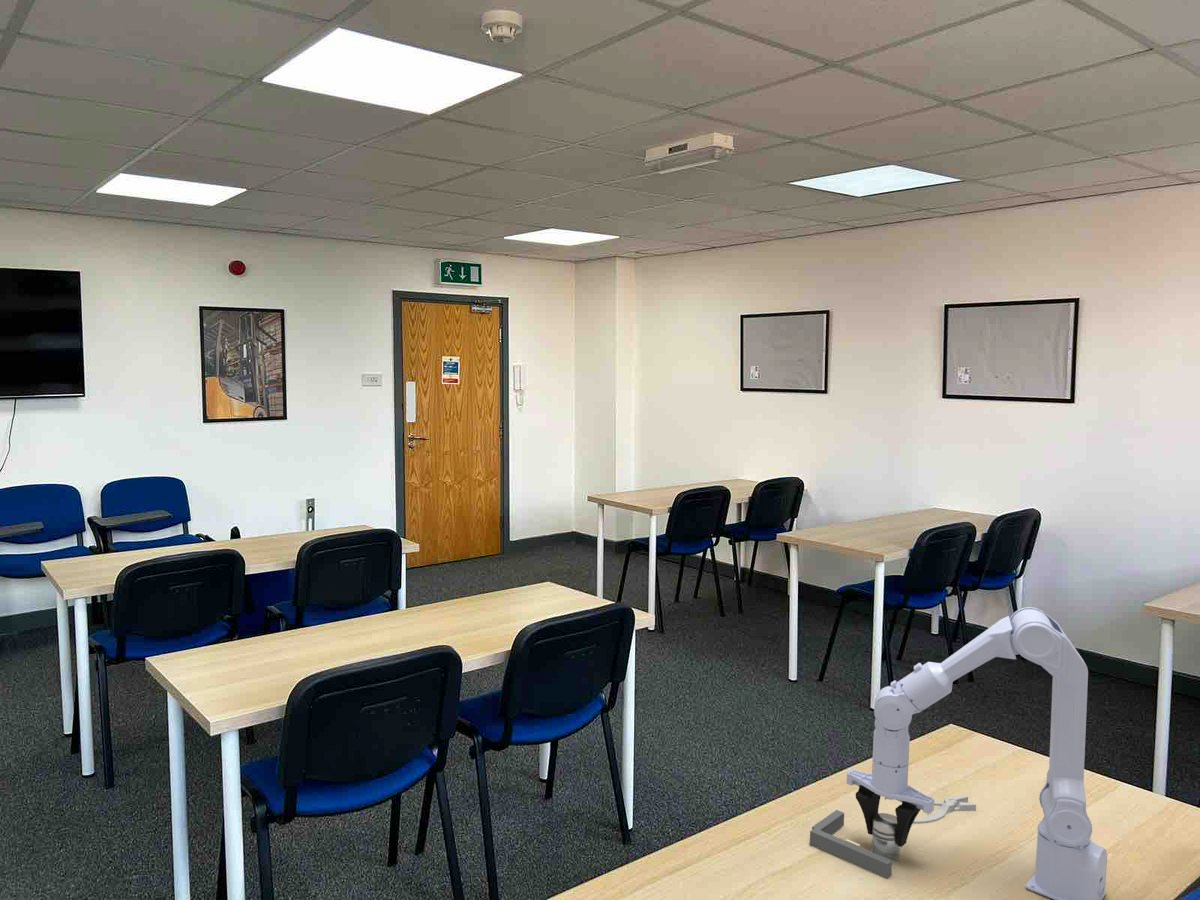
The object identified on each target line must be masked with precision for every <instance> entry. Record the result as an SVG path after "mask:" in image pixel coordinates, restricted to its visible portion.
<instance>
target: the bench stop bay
mask: <svg viewBox="0 0 1200 900" xmlns="http://www.w3.org/2000/svg"><path fill="white" fill-rule="evenodd" d="M844 825H845V812H843V811H841V810H838V809H836V810H834V811H833V812H832V813H830V814H829V815H827V816H825V817H824V818H823V819H821V820H819V822H817V823H816V824H814V825H813V826H812V827H811V830H810V831H809V845H810V846H812V847H814V848H816V849H819V850H821V851H824V852H826V853H828V854H830V855H833V856H834V857H837V858H839V859H842V860H844V861H846V862H849V863H850V864H853V865H856V866H858V867H860V868H862V869H864V870H867V871H869V872H871V873H873V874H876V875H879V876H880V877H883V878H885V879H889V878H890V877H891V876H892V872H893V871H892V869H893V861H892V860H889V859H887V858H885V857H882V856H880V855H878V854H875V853H873V852H872V851H870V850H867V849H866V848H863V847H860V846H861V844H860V843H857V842H855V841H852V840H850V839H845V840H844V839H842V838H839V837H837V836H835V835H833V834H834V833H836V832H837V831H839V830H840V829H841V828H843V827H844ZM842 826H843V827H842Z"/></svg>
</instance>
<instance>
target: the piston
mask: <svg viewBox="0 0 1200 900" xmlns="http://www.w3.org/2000/svg"><path fill="white" fill-rule="evenodd" d="M897 829H898V827H897V817H896V815H893V814H890V813H884V812H878V814H875V815H874V816H873V823H872V835H871V852H873V853H875V854H878V855H880V856H882V857H885V858H887V859H889V860H892V862H895V861H897V860H899V858H900V847H899V846H897Z"/></svg>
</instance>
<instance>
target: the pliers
mask: <svg viewBox="0 0 1200 900" xmlns="http://www.w3.org/2000/svg"><path fill="white" fill-rule="evenodd" d="M884 799H885V800H886V799H889V800H893V801H896V800H895V799H891V798H886V797H884ZM934 806H939V808H938V810H937V811H936V812H935V813H934V814H932V813H929V814H927V816H926V817H925V816H924V817H919V818H915V820H914V822H913V824H915V825H916V824H919V825H920V824H928V823H934V822H937V821H940V820H941V819H943V818H945V816H946V815H947V814H949V813H951V812H952V811H953V812H972V811H973V812H975V811H977V804H976V803H975V802H969V796H967V795H965V794H964V795H956V796H955V795H954V796H948V797H944V798H943V801H939V800H935V799H934ZM934 810H935V809H934ZM934 810H933V811H934ZM933 811H932V812H933ZM913 824H912V825H913Z"/></svg>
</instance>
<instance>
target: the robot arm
mask: <svg viewBox="0 0 1200 900" xmlns="http://www.w3.org/2000/svg"><path fill="white" fill-rule="evenodd" d="M1016 652H1017V653H1018V654H1019V655H1020V657H1022V658H1024V659H1025V660H1027V661H1029V662H1032V663H1034V664H1036V665H1039V666H1041V667H1042V668H1043V669H1044V670H1045V671H1046V672H1048V674H1050V675H1051V676H1052V682H1051V683H1052V686H1051V690H1052V691H1051V708H1050V709H1051V712H1050V714H1051V715H1050V735H1049V736H1050V737H1049V738H1050V740H1049V765H1048V769H1047V772H1046V781H1045V784H1044V786H1043V787H1042V789H1041V790H1040V792H1039V797H1038V799H1039V804H1040V807H1041V809H1042V812H1043V815H1044V816H1043V818H1042V819H1041V820H1040V822H1039V823H1038V824H1037V836H1036V854H1035V870H1034V873H1033V875H1032V876H1031V877H1030V879H1029V880H1028V881H1027V882H1026V883H1025V888H1026V889H1027V890H1029V891H1032V892H1034V893H1037V894H1039V895H1041V896H1044V897H1046V898H1049V899H1052V900H1103V899H1104V897H1105V895H1106V893H1107V890H1106V881H1107V880H1106V879H1107V867H1108V866H1107V865H1108V864H1107V863H1108V852H1107V849H1106V848H1105V847H1102V845H1101V846H1100V845H1098V844H1097V843H1095V842H1094V841H1092V839H1091V837H1092V834H1093V823H1092V822H1091V821H1092V820H1091V819H1090V817H1089V815H1088V813H1087V799H1086V790H1085V783H1084V780H1085V778H1084V777H1085V758H1086V757H1085V756H1086V732H1087V729H1086V728H1087V709H1088V708H1087V707H1088V684H1089V682H1088V681H1089V680H1088V679H1089V670H1088V666H1087V664H1086V662H1085V661H1084V659H1083V658H1082V656H1081V655H1080V653H1079V652H1078V650H1077V649H1076V648H1075V646H1074V644H1073V643H1072V642H1071V640H1070V638H1068V636H1067V634H1066V633H1065V632H1064V630H1063V628H1062V627H1061V625H1060V624H1059V622H1057V621H1056V620H1055V619H1053V618H1052V617H1051V616H1050V615H1048V614H1047V613H1046V612H1044V611H1043V610H1041V609H1040V608H1037V607H1031V606H1029V607H1028V606H1027V607H1026V606H1025V607H1023V608H1020V609H1018V610H1016V611H1014V612H1013V613H1012V615H1011V616H1009V615H1007V616H1006V617H1002V618H1000V619H999V620H998V621H996V623H994V624H992V625H991V626H990V627H989V628H987V629H986V630H984V631H983V632H982V633H980V634H979V635H977V636H976V637H975V638H974V639H973V638H972V640H971V641H968V643H967V644H965V645H963V647H961V648H960V649H958V650H957V651H956V652H954V653H953V654H951V655H950V656H949V657H947V658H946V659H944V660H943V661H942V662H934V661H933V662H932V661H927V662H925V663H924V664H922V663H921V662H918V663H917V664H915V665H913V671H912V672H910V673H909V674H907V675H906V676H904V677H902V679H900V680H898V681H897V680H895V679H894V680H893V681H891V682H890V685H887V686H885V687H883V688H881V689H880V690H878V692H877V695H876V696H875V698H874V701H875V702H874V708H873V712H874V713H873V715H874V717H875V719H874V728H875V729H874V730H873V740H872V743H873V744H872V765H871V766H872V768H871V773H868V772H862V771H858V770H855V769H851V770H849V771H848V772H847V773H846V784H847V785H849V786H857V787H858V790H857V791H856V792H855V799H856V801H857V803H858V805H859V806H860V809H861V811H862V814H863V818H864V821H865V826H866V829H867V834H868V835H869V836H870V835H871V836H872V823H873V816H874V815H875V814H878V813H879V807H880V801H881V797H883V798H885V797H886V798H891V799H890V800H893V799H895V800H894V801H897V802H900V803H901V804H900V805H898V806H897V807H895V810H894V811H895V816H896V817H897V827H898V829H897V846H899V848H902V847H904V846H905V845H906V844H907V841H908V837H909V834H910V830H911V828H912V825H913V822H914V820H915V819H917V816H918V814H920V812H921V810H922V812H923V813H924V814H927V815H928V814H929V813H930V814H932V812H933V810H935V805H934V800H935V798H933V797H930V796H928V795H926V794H925V793H922V792H920V791H919V790H917V789H916V788H913V787H912V786H911V785H909V784H908V782H909V781H908V779H909V765H910V764H909V760H910V759H909V758H910V742H911V741H910V740H911V736H910V733H909V725H910V724H911V721H912V720H913V718H912V717H913V715H915V714H919V713H922V712H923V711H924V710H926V709H928V708H929V707H930V706H932V705H933V704H935V703H937V702H938V701H940V700H941V699H943V698H945V697H947V696H948V695H949V694H951V693H952V689H953V682H955V681H956V680H958V679H960V678H961V677H963V676H964V675H967V674H968V673H970V672H972V671H973V670H976V668H978V667H980V666H982V665H984V664H986V663H987V662H989V661H991V660H993V659H994V658H1001V659H1002V658H1003V659H1009V660H1017V656H1016Z"/></svg>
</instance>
